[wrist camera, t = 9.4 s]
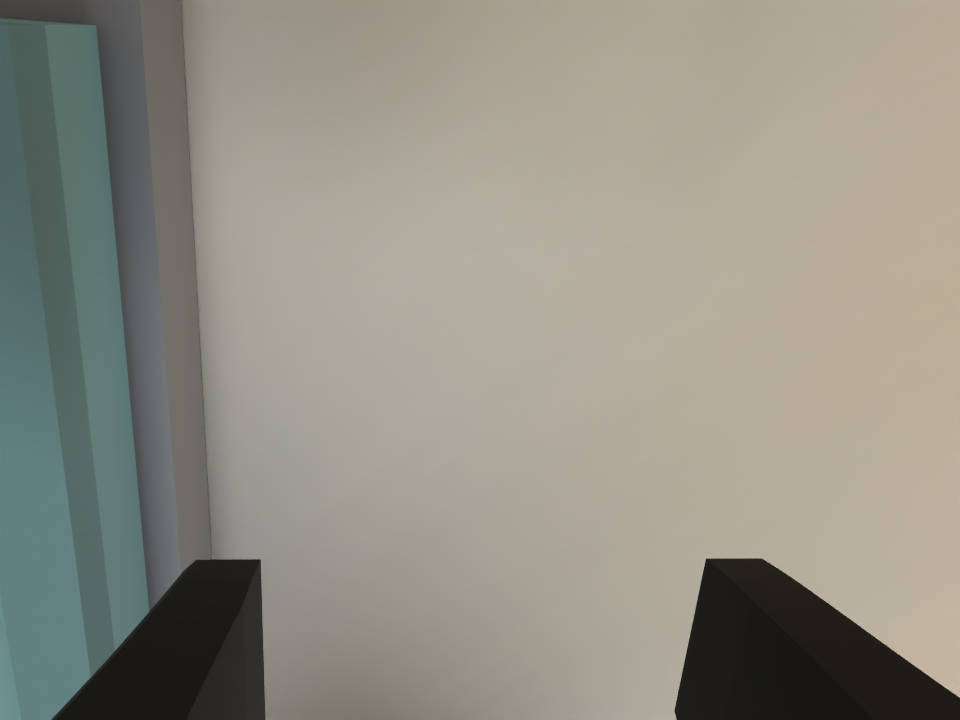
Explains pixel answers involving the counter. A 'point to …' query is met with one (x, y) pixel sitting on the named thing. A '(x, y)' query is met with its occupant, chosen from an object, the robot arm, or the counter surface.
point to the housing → (152, 264)
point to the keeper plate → (61, 380)
